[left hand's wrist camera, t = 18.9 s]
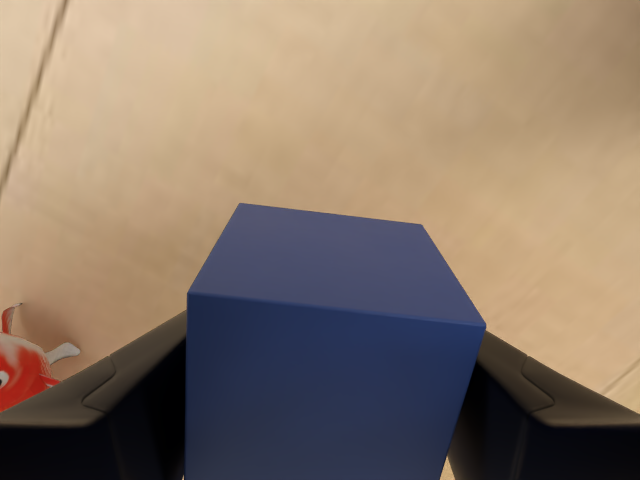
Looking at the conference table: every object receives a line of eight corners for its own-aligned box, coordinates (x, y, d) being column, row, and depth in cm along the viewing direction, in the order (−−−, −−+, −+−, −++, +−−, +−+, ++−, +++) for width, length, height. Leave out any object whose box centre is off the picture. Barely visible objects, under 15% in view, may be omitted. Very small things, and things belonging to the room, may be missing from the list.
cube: (422, 223, 12) (488, 325, 7) (387, 380, 13) (422, 539, 9) (238, 202, 11) (185, 292, 7) (229, 364, 13) (182, 519, 9)
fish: (185, 407, 22) (-43, 626, 14) (120, 467, 32) (-31, 612, 25) (43, 248, 22) (-246, 380, 15) (24, 358, 33) (-151, 467, 26)
